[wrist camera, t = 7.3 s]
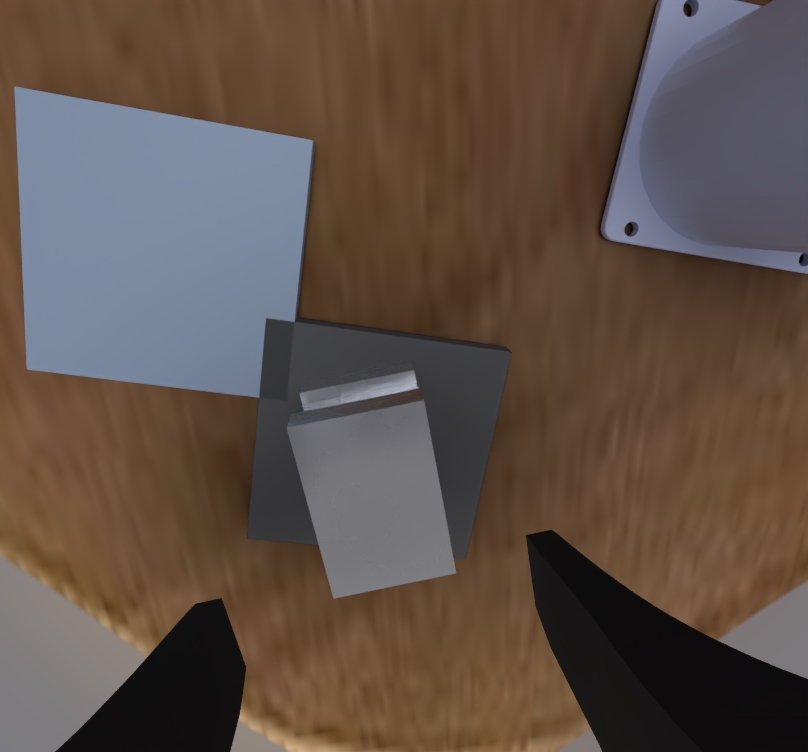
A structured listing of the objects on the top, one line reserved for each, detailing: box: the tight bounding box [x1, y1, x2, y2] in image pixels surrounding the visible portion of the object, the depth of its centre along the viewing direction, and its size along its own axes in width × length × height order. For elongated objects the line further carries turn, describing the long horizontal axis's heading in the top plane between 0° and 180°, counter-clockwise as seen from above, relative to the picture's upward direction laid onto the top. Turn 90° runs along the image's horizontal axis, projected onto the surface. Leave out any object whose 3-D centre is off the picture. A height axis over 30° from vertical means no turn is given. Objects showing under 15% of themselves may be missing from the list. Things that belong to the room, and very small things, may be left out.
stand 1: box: [15, 87, 315, 398], centre depth 18 cm, size 9×9×1 cm
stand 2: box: [247, 318, 512, 559], centre depth 21 cm, size 9×9×1 cm
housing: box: [287, 360, 456, 599], centre depth 18 cm, size 6×4×4 cm, turn 11°
